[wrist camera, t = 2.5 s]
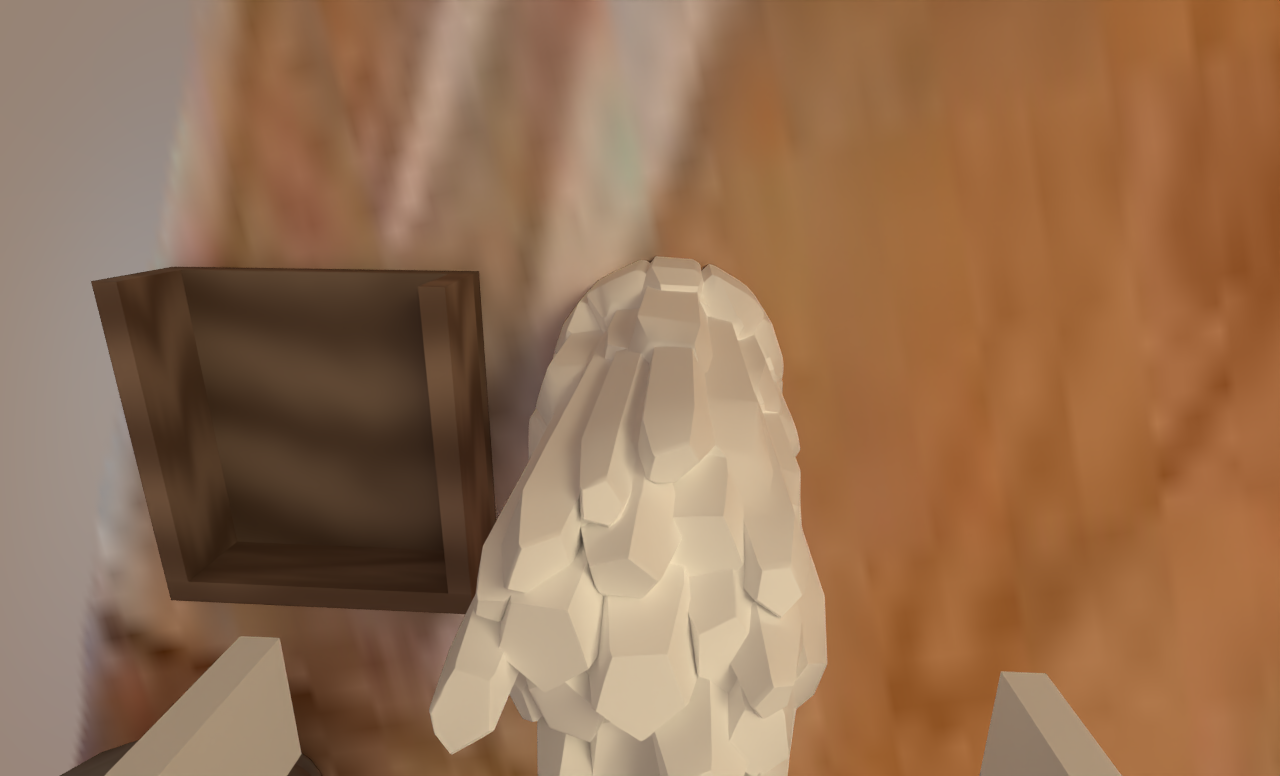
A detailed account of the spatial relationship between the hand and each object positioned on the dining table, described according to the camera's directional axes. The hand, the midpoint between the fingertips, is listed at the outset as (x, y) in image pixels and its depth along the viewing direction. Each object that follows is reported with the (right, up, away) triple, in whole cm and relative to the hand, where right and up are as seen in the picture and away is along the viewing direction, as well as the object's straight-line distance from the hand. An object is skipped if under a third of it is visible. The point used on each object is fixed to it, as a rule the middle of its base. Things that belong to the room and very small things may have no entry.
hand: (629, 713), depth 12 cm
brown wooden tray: (-16, +4, +25) cm, 30 cm away
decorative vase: (+2, +8, +22) cm, 24 cm away
